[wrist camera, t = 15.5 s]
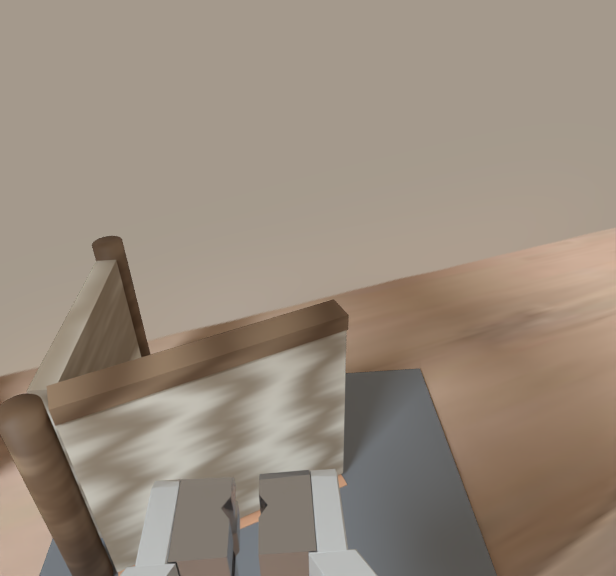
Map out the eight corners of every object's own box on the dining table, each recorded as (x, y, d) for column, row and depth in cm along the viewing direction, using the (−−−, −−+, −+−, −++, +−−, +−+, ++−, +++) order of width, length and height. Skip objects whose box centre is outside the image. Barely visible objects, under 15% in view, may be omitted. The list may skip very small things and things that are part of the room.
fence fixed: (74, 598, 36) (-16, 429, 26) (136, 384, 53) (96, 236, 44) (109, 595, 36) (32, 425, 26) (160, 382, 53) (125, 235, 44)
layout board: (-78, 915, 24) (-83, 913, 24) (107, 392, 52) (105, 388, 52) (592, 840, 26) (595, 837, 25) (419, 371, 54) (419, 367, 54)
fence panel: (117, 575, 36) (48, 410, 27) (113, 550, 37) (46, 386, 29) (344, 474, 42) (348, 315, 34) (332, 457, 44) (333, 299, 35)
